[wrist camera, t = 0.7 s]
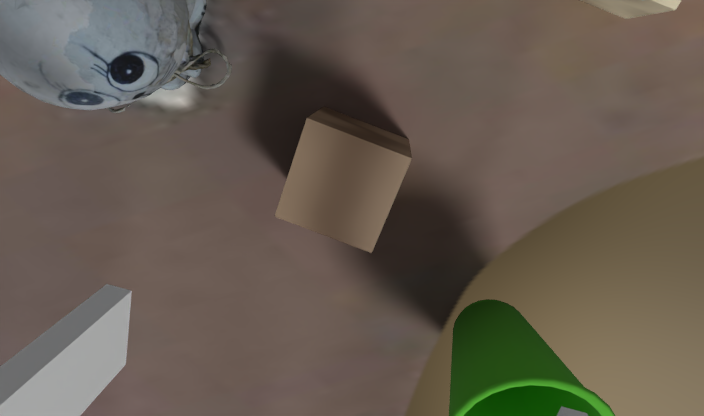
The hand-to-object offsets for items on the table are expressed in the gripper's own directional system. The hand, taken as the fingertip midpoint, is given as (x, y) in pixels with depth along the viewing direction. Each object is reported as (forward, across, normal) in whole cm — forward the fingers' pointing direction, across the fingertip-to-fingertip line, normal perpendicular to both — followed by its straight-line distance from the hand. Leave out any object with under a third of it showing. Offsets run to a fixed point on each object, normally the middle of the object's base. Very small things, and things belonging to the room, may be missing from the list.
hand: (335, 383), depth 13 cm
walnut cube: (+18, -2, +2) cm, 19 cm away
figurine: (+18, -15, +8) cm, 25 cm away
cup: (+19, +11, -8) cm, 23 cm away
